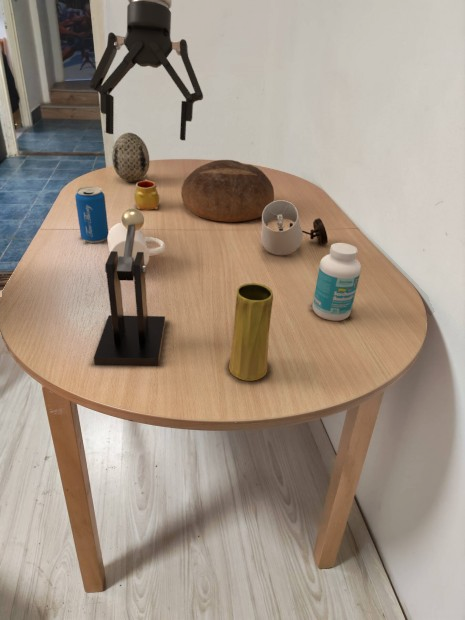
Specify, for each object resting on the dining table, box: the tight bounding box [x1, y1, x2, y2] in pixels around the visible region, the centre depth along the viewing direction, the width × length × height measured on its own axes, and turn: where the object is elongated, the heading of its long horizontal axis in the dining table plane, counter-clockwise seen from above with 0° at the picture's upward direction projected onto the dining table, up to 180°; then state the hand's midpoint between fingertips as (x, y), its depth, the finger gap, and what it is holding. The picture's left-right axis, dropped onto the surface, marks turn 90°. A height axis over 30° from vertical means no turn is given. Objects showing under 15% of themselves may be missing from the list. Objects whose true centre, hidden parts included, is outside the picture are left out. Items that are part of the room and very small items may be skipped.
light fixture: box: [260, 199, 329, 256], centre depth 108 cm, size 10×16×17 cm
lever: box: [116, 208, 145, 282], centre depth 72 cm, size 13×4×4 cm, turn 2°
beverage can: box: [74, 186, 109, 244], centre depth 107 cm, size 6×6×12 cm
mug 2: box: [134, 179, 160, 211], centre depth 130 cm, size 12×7×7 cm, turn 5°
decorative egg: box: [111, 132, 150, 183], centre depth 145 cm, size 12×12×15 cm
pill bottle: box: [311, 242, 362, 322], centre depth 84 cm, size 8×7×14 cm
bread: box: [180, 159, 275, 223], centre depth 129 cm, size 26×27×13 cm
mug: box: [106, 221, 166, 266], centre depth 98 cm, size 12×10×8 cm
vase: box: [228, 282, 274, 382], centre depth 68 cm, size 6×6×14 cm
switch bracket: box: [93, 251, 166, 366], centre depth 72 cm, size 12×10×16 cm
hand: (146, 137), depth 85 cm, fingers open, 13 cm apart
